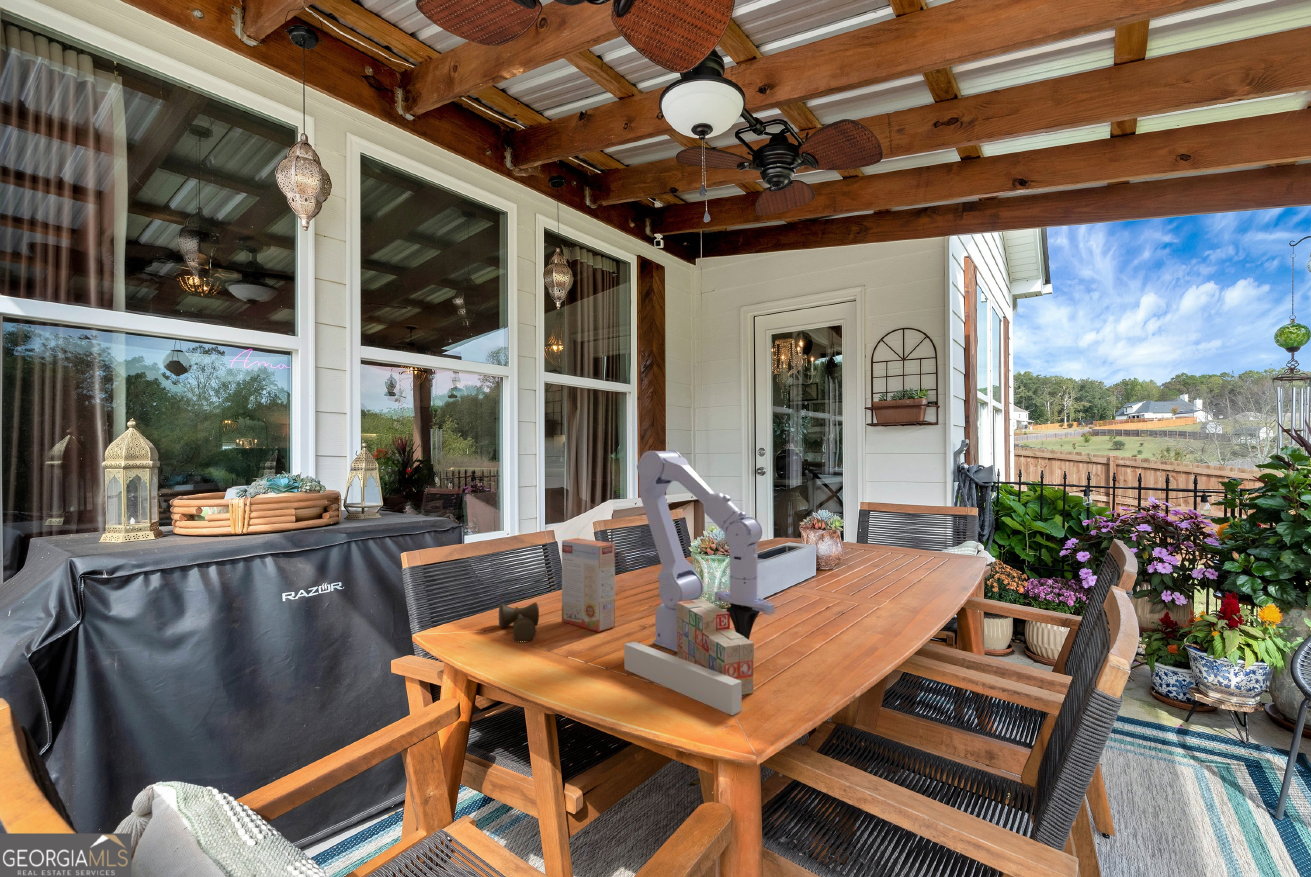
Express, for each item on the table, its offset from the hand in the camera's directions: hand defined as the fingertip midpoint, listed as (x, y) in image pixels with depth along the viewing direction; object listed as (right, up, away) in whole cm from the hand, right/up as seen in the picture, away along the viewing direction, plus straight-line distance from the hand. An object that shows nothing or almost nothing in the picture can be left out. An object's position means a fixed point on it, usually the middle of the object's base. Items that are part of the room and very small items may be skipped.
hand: (743, 641), depth 124 cm
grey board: (-14, -4, -14) cm, 20 cm away
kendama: (-51, -5, +21) cm, 55 cm away
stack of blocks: (-7, -4, -8) cm, 11 cm away
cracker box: (-35, -4, +25) cm, 43 cm away
